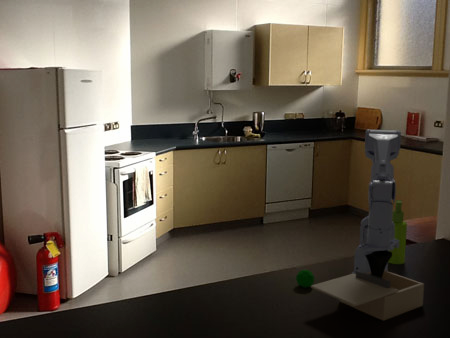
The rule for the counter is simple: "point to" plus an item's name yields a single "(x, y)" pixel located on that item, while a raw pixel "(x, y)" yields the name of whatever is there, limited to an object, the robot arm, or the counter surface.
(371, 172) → the robot arm
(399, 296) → the carton
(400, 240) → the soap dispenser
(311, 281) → the green ball
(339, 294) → the carton lid
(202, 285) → the counter surface
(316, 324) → the counter surface
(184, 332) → the counter surface
